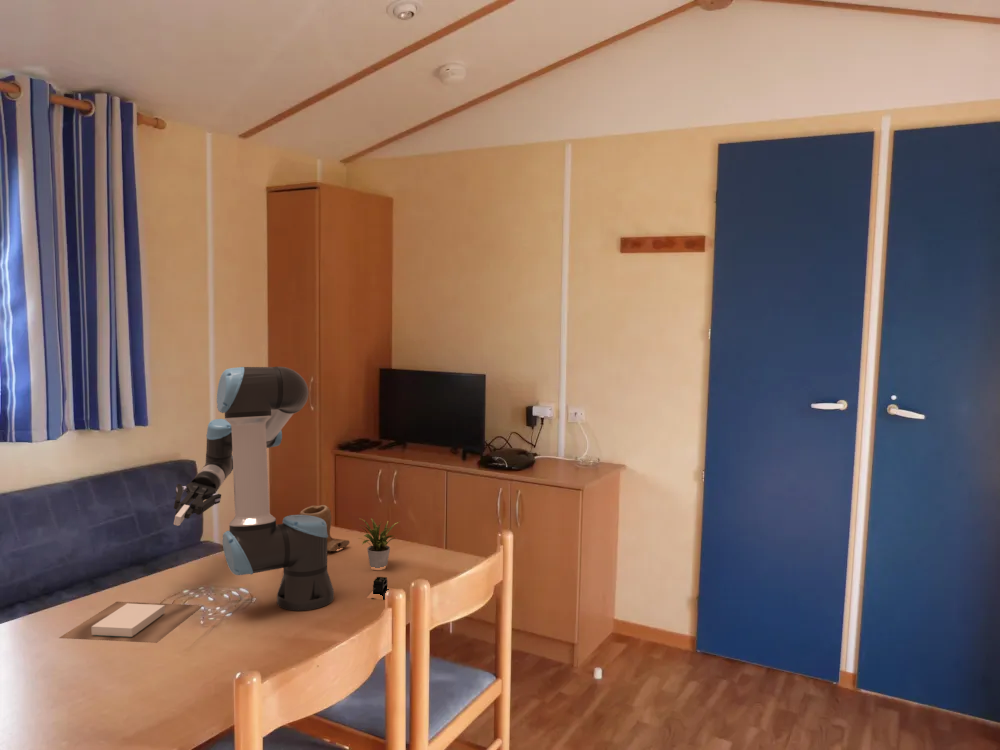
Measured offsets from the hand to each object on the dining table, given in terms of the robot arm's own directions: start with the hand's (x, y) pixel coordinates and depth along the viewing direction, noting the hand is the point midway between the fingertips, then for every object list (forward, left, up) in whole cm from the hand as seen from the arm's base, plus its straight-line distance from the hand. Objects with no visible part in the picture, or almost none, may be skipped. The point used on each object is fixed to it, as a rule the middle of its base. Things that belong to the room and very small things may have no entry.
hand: (177, 520), depth 187 cm
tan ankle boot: (-23, -50, -23) cm, 60 cm away
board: (+3, +14, -23) cm, 27 cm away
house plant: (-45, -35, -23) cm, 61 cm away
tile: (+3, +9, -20) cm, 23 cm away
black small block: (-52, -15, -24) cm, 59 cm away
